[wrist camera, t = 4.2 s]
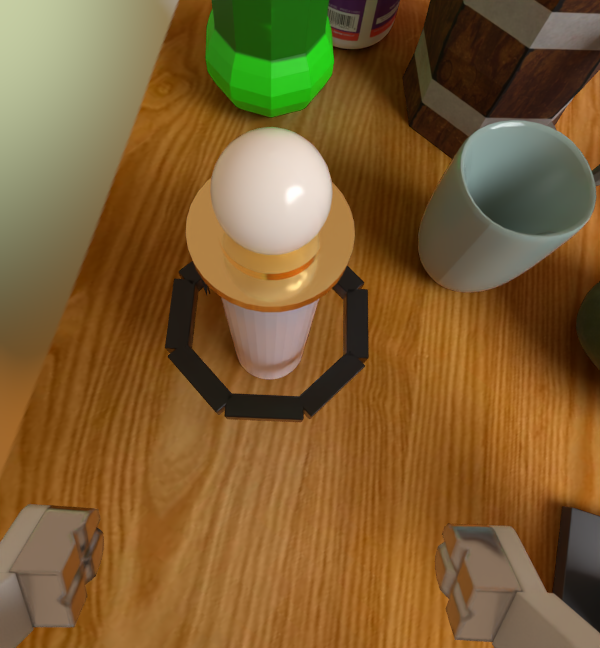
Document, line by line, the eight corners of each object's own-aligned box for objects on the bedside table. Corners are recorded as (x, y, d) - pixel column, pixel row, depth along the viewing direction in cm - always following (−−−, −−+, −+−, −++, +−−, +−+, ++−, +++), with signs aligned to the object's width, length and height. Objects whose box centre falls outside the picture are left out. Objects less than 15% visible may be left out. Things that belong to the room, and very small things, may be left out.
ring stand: (348, 432, 29) (373, 421, 22) (180, 426, 29) (151, 411, 22) (348, 213, 34) (368, 147, 27) (205, 203, 34) (189, 133, 27)
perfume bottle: (328, 342, 31) (422, 143, 12) (276, 408, 30) (290, 297, 11) (263, 293, 32) (257, 34, 13) (209, 354, 30) (110, 162, 11)
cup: (414, 310, 32) (474, 244, 23) (396, 215, 35) (444, 119, 25) (517, 303, 33) (617, 236, 24) (493, 210, 35) (575, 115, 26)
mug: (372, 66, 39) (431, -165, 25) (500, 26, 42) (620, -205, 27) (491, 255, 34) (650, 102, 20) (628, 196, 37) (857, 23, 22)
